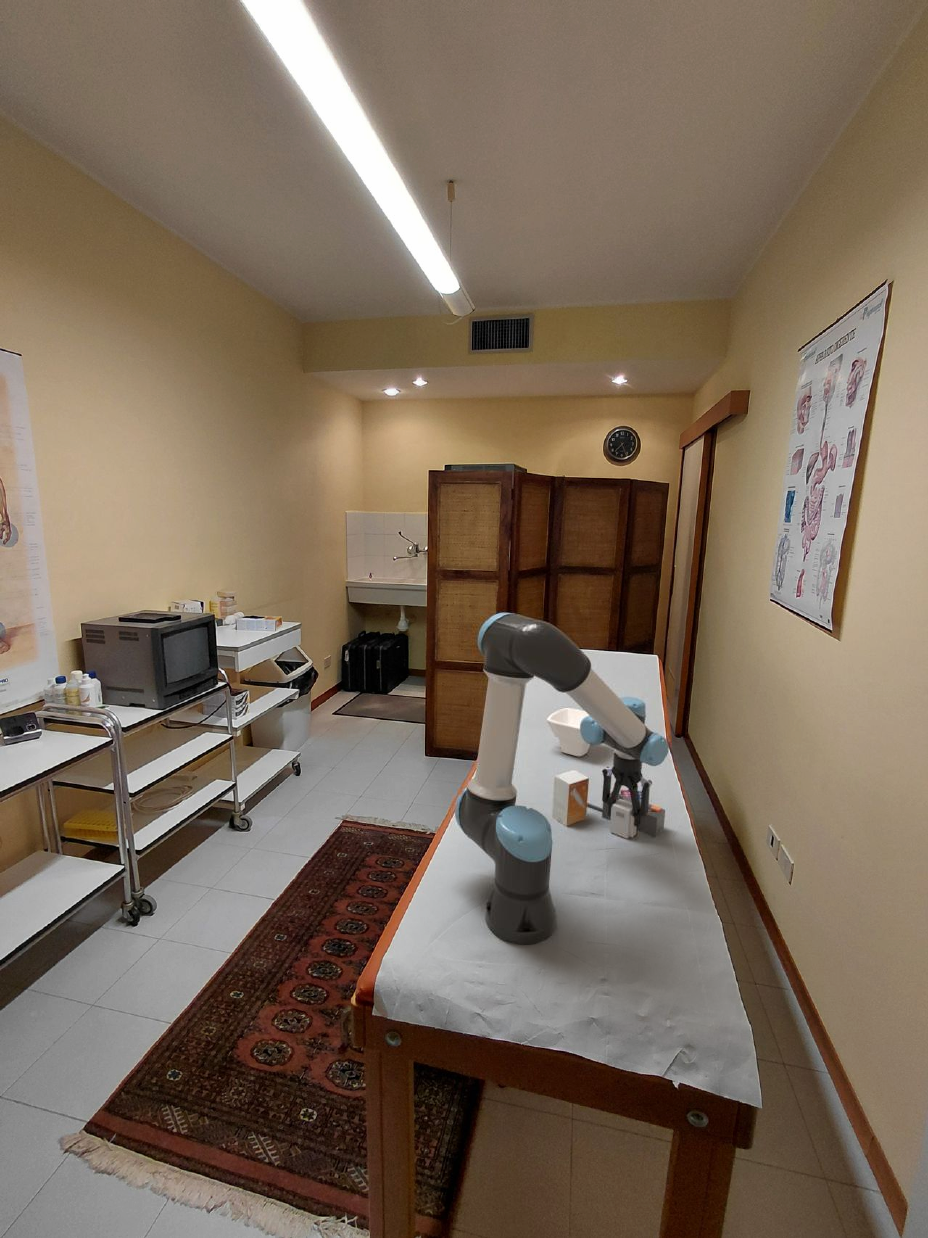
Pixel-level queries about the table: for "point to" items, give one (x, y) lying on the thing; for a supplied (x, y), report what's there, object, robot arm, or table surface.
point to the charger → (621, 818)
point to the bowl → (569, 730)
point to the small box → (570, 797)
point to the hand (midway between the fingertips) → (623, 831)
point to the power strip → (648, 824)
